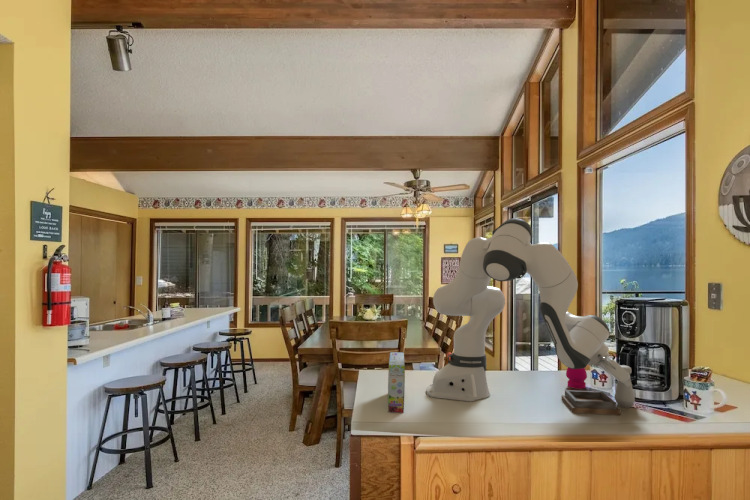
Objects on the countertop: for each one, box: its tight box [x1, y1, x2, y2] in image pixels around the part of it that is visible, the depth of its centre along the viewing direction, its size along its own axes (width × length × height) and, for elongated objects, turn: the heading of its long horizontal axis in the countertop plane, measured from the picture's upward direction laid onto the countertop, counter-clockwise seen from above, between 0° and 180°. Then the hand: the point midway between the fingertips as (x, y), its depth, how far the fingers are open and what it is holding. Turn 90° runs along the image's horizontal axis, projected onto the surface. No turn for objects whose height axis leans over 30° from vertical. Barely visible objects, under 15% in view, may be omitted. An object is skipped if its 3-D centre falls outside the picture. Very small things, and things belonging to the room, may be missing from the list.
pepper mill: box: [565, 367, 588, 390], centre depth 163 cm, size 7×7×20 cm
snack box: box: [387, 351, 406, 414], centre depth 145 cm, size 21×6×15 cm, turn 177°
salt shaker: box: [614, 364, 636, 409], centre depth 141 cm, size 6×6×13 cm
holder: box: [561, 389, 622, 416], centre depth 139 cm, size 14×13×4 cm
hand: (626, 383), depth 141 cm, fingers closed on salt shaker, 3 cm apart
